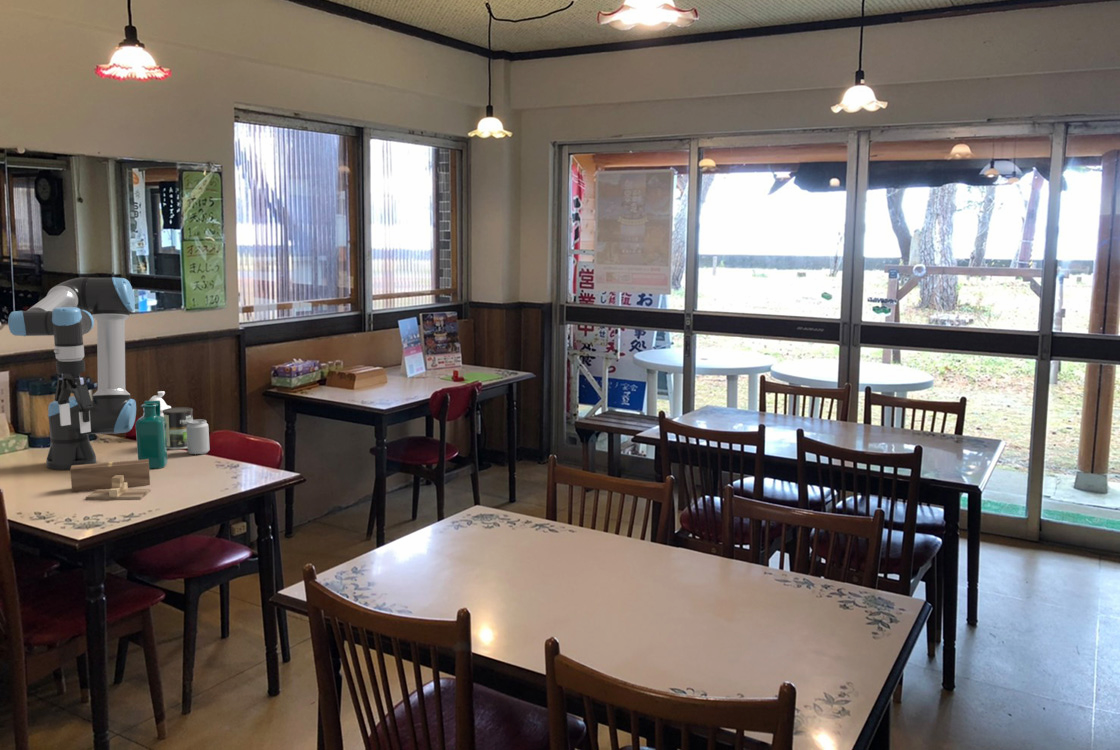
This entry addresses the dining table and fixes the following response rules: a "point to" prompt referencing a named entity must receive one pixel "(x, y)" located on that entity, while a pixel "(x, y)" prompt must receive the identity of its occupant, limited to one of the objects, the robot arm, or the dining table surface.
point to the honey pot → (162, 402)
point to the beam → (109, 474)
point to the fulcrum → (118, 491)
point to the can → (198, 437)
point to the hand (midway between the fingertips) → (75, 428)
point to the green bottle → (152, 436)
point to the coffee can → (177, 426)
